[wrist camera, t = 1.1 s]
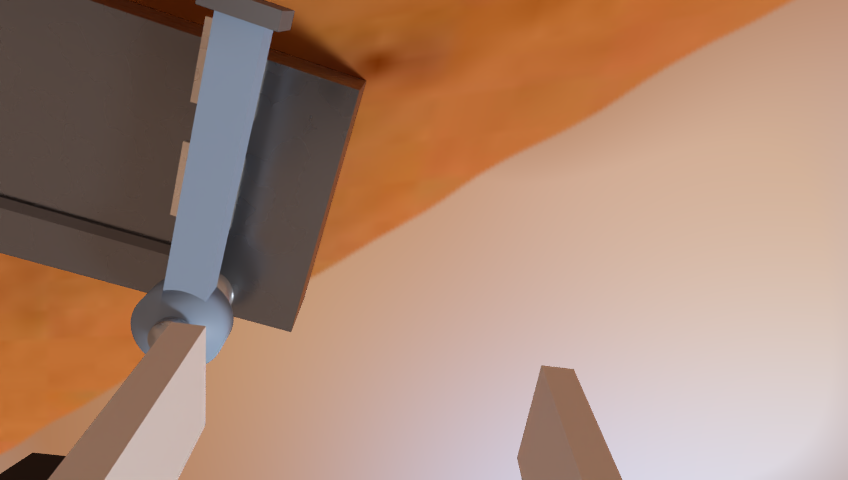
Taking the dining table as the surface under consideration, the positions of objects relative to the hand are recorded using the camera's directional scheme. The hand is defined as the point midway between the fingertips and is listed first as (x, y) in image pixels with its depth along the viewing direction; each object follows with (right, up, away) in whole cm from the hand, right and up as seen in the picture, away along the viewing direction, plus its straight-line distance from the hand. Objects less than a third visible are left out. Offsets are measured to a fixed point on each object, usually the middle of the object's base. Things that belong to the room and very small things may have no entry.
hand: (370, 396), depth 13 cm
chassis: (-13, +9, +19) cm, 25 cm away
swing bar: (-9, +6, +14) cm, 17 cm away
